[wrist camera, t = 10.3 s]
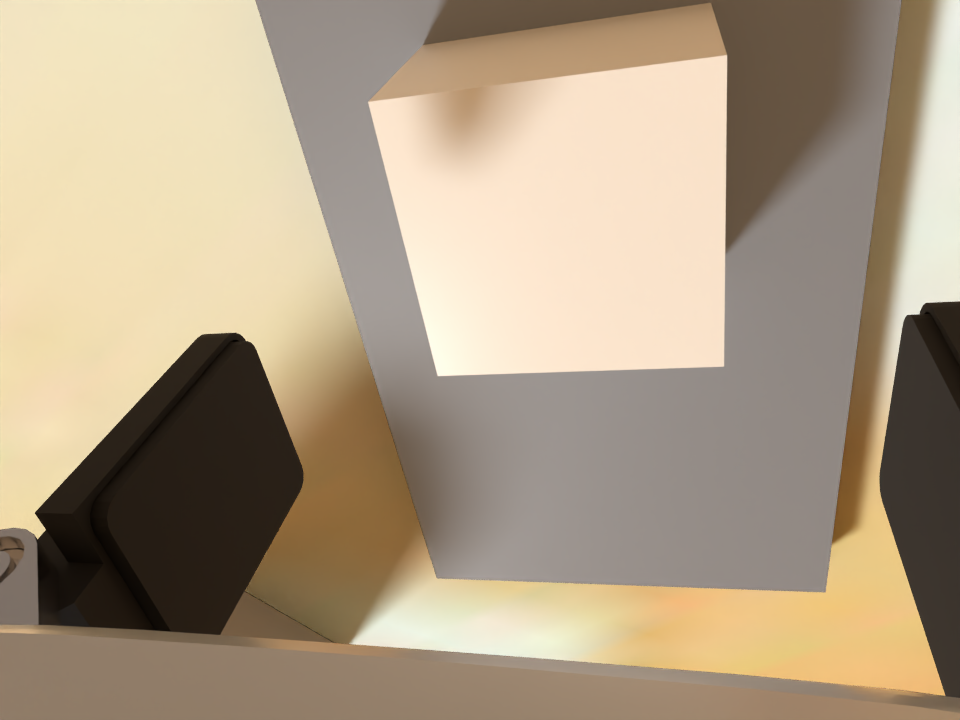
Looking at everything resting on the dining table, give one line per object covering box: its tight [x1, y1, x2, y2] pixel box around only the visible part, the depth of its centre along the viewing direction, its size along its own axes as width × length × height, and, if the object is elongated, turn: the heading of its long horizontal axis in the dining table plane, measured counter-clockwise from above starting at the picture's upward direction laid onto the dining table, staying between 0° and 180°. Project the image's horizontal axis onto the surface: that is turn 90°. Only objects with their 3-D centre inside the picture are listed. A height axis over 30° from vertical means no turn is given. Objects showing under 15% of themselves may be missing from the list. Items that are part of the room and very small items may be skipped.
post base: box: [256, 0, 902, 592], centre depth 20 cm, size 13×20×4 cm, turn 11°
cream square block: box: [368, 3, 727, 376], centre depth 16 cm, size 6×6×4 cm
